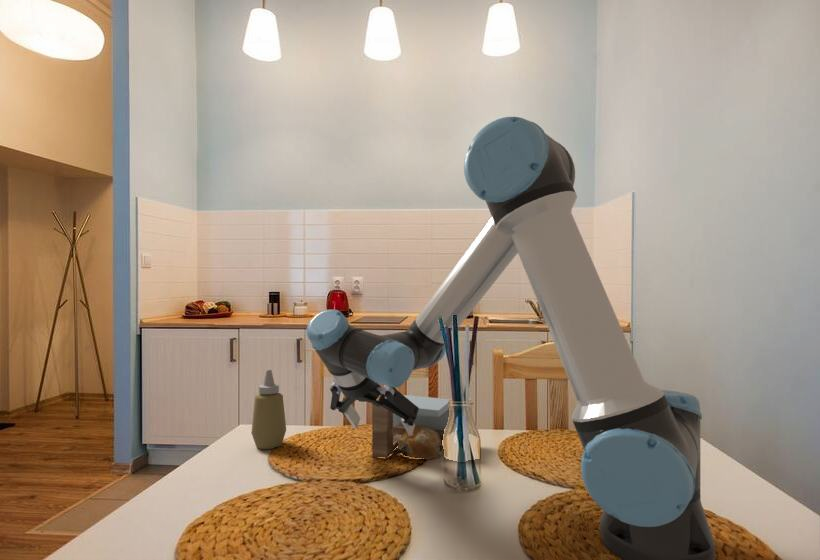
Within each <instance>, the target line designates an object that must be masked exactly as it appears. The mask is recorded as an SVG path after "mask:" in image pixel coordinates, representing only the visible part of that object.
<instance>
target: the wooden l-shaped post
mask: <svg viewBox="0 0 820 560" xmlns="http://www.w3.org/2000/svg"><path fill="white" fill-rule="evenodd" d="M371 409H372V411H371V413H372V414H371V415H372V417H371V418H372V419H371V423H372V424H371V425H372V426H371V428H372V429H371V430H372V431H371V432H372V433H371V434H372V435H371V437H372V440H371V442H372V443H371V447H372V450H371V451H372V455H371V456H372V457H385V458H387V457H388V456H389V455H390V454H392V453H393V454H394V452H393V450H394V449H395V448H396V447H397V446H398V442H397V440H398V439H399V438H400V437H401V436H402V435H403V433H404V432H405V431H406V429H405V427H404V426H399V425H395V426H394V427H393V413H392V412H391V411H389V410H387V409H385V408H384V407H382V406H380V407H377V406H376V405H374V404H372V403H371ZM435 431H436V432H437V433H438V435H439V437H440V440H441V448H443V447H442V440H443V434H444V431H440V430H435Z"/></svg>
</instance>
